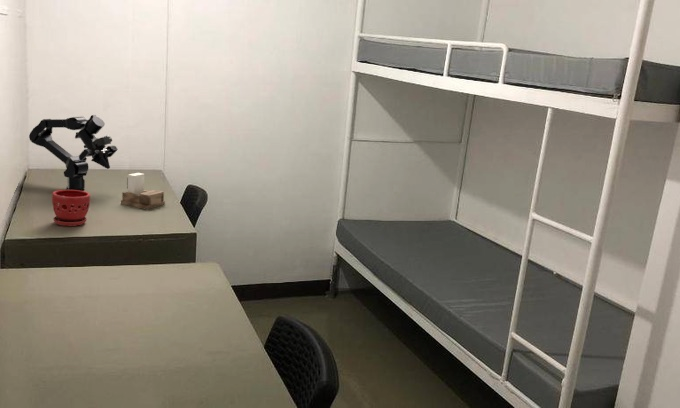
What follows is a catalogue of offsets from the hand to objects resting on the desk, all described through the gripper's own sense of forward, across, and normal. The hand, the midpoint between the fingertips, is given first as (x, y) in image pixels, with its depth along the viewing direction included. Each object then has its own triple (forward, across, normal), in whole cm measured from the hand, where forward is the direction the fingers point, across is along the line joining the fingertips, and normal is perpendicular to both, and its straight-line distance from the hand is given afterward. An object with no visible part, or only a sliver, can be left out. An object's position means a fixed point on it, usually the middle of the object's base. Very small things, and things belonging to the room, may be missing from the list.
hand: (108, 168), depth 278 cm
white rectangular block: (+18, 0, -2) cm, 19 cm away
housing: (+22, 0, -4) cm, 22 cm away
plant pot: (+23, -40, -4) cm, 47 cm away
